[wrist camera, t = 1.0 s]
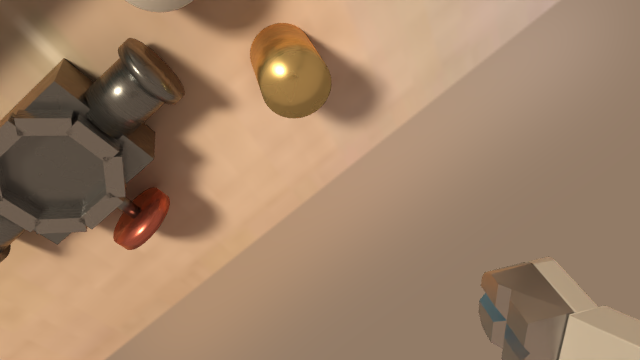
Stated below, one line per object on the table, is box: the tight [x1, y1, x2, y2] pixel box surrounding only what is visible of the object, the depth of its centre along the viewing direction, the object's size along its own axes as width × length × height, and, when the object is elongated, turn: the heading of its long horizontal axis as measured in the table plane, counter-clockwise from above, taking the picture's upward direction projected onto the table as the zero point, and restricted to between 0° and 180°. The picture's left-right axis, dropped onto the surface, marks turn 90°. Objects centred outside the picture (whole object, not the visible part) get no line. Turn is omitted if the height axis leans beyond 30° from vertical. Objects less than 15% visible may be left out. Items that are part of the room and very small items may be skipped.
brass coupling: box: [250, 23, 331, 118], centre depth 38 cm, size 5×5×6 cm
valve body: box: [0, 38, 185, 262], centre depth 39 cm, size 19×12×5 cm, turn 129°
